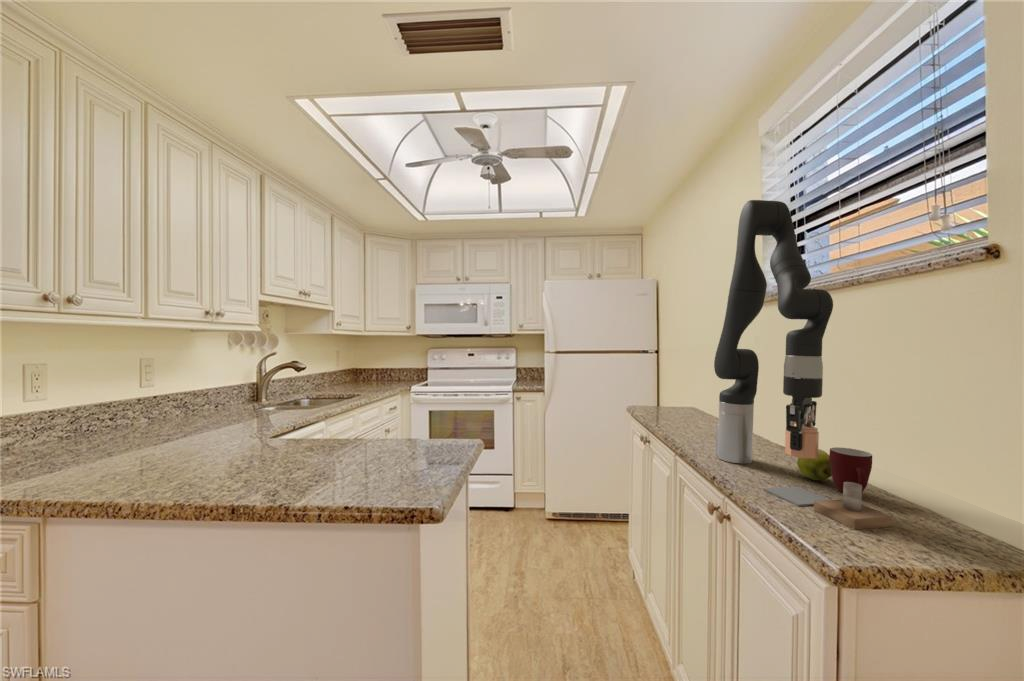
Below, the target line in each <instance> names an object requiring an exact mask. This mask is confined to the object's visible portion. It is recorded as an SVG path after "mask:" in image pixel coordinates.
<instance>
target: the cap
mask: <svg viewBox="0 0 1024 681" xmlns="http://www.w3.org/2000/svg"><path fill="white" fill-rule="evenodd" d="M794 426H795V427H796V424H794ZM784 433H785V434H784V435H785V438H784V441H785V442H784V443H785V444H784V454H786V455H788V456H791V457H795V458H799V457H800V458H814V459H815V458H817V457H818V449H819V439H820V438H819V437H820V436H819V435H820V434H819V429H818V428H817V427H815V426H813V427H811V426H805V425H804V428H803V433H802V434H803V435H802V450H800V451H797V450H792V449H791V448H790V432H789V431H787V430H786V429H785V432H784Z"/></svg>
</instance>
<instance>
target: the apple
mask: <svg viewBox="0 0 1024 681" xmlns="http://www.w3.org/2000/svg"><path fill="white" fill-rule="evenodd" d="M829 455H830V454H828V453H827V452H826V451H824V450H822V449H820V448H818V457H817V458H815V459H814V458H800V457H797V460H796V461H797V462H796V464H797V468H798V470H799V472H800V473H801V474H802V475H803V476H805V477H807V478H808V479H810V480H812V481H813V480H814V481H825V480H827V479H829V478H831V477H832V472H831V466H830V460H829Z"/></svg>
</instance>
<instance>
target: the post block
mask: <svg viewBox="0 0 1024 681" xmlns="http://www.w3.org/2000/svg"><path fill="white" fill-rule="evenodd" d="M862 496H863V492H862V485H860V484H857V483H853V482H844V485H843V494H842V499H830V500H827V501H814V505H813V512H816V513H818V514H820V515H822V516H825V517H827V518H829V519H831V520H834V521H835V522H837V523H840V524H842V525H844V526H846V527H849V528H850V529H853V530H862V529H865V530H866V529H876V528H889V527H893V516H892V515H889V514H888V513H885V512H883V511H881V510H877V509H875V508H872V507H870V506H867V505H865V504H863V503H862Z"/></svg>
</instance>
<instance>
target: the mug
mask: <svg viewBox="0 0 1024 681" xmlns="http://www.w3.org/2000/svg"><path fill="white" fill-rule="evenodd" d="M828 455H829V460H830V466H831V472H832V476H831V477H832V478H831V479H832V481H833V483H834V485H835V488H836V489H837V492H838V493H841V494H842V495H843V485H844V482H853V483H857V484H860V485H862V493H863V492H864V491H865V490H866V488H867V486H868V482H869V479H870V476H871V472H872V469H873V468H872V466H873V454H872V453H871V452H867V451H864V450H860V449H856V448H850V447H849V448H848V447H831V448H829V454H828Z"/></svg>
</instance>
